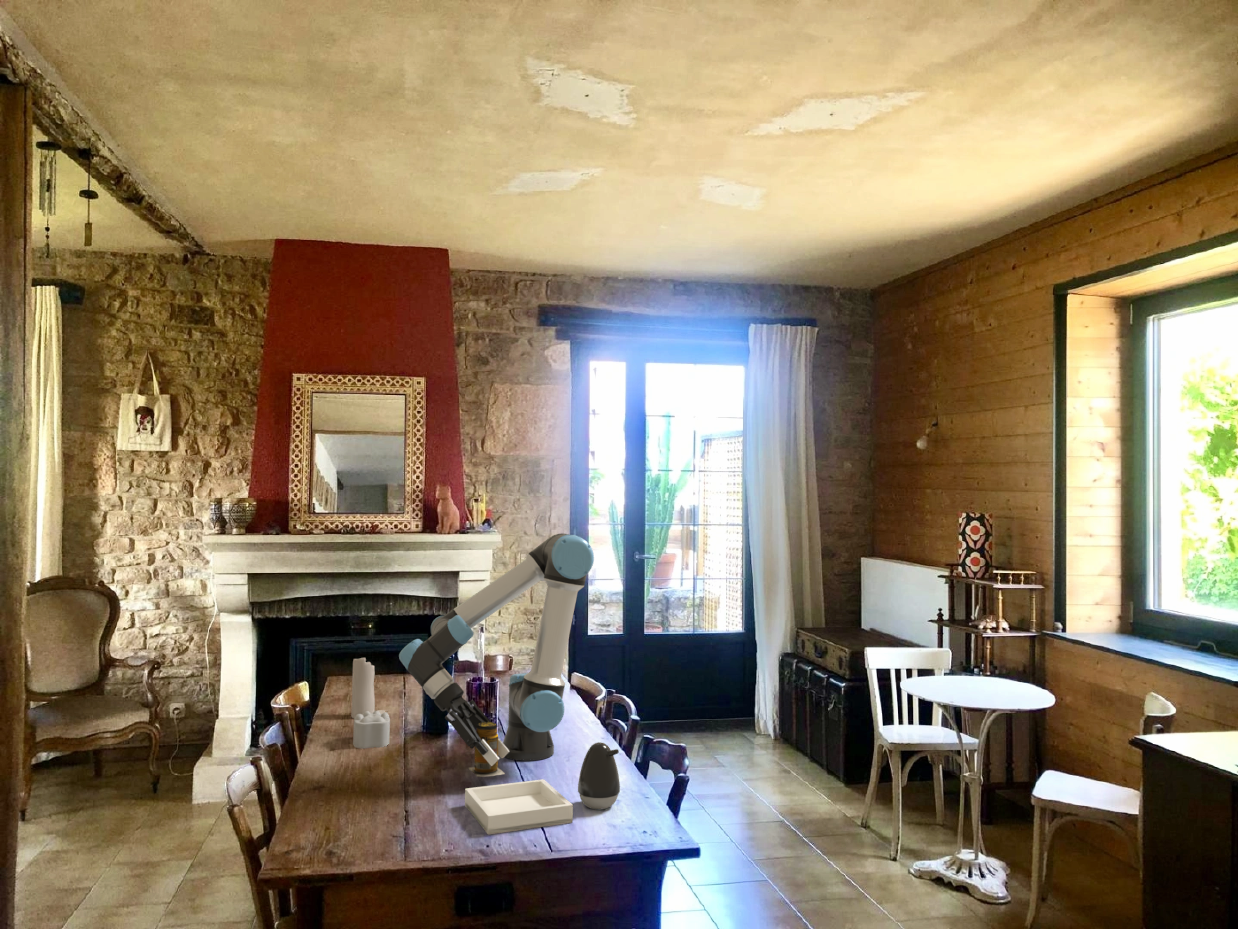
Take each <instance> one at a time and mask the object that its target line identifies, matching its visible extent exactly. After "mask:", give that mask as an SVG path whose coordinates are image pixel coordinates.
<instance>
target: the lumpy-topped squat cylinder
mask: <svg viewBox="0 0 1238 929" xmlns="http://www.w3.org/2000/svg"><path fill="white" fill-rule="evenodd" d="M390 725H391V717H390V715H389V713H388V712H385V713H382V714H380V712H379V711H377V710H375V711H374V712H373V713H370V712H369V711H366V712H364V713H363V714H357V715H356V717H355V718H353V734H352V736H353V738H352V739H353V741H352V745H353V746H354V747H355V748H356V749H372V748H373V749H374V747H376V748H384V746H385V747H387V745H388V744H389V745H390V735H391V734H390V728H391V726H390ZM389 745H388V746H389Z"/></svg>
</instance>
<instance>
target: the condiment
mask: <svg viewBox="0 0 1238 929" xmlns="http://www.w3.org/2000/svg"><path fill="white" fill-rule="evenodd" d="M476 732H477V734H478V735H479V737H480V739H481V740H482V739H484V740H485V742H486V743H487V744H488V745H489V746H490V748H491V749H492V750H493V751H494V752H495V754H496V755H497V756H498V757H499V755H498V743H499V742H498V738H499V735H498V724H497V723H496V722H492V721H491V722H482V723H479V724H478V725H477V729H476ZM498 765H499V760H498V761H497V762H496V763H495V764H494V765H493V766H491V765H490V764H489V763H488V762H487V760H486V759H485V758H484V757H483V755H482V754H481V753H480V752H479V751H478V749H477V748H476V747H474V767H468V769H469V770H470V771H471V772H472V773H473V774H474V775H475V776H476V777H478V778H480V777H482V778H483V777H494V776H495V777H496V776H501V775H505V772H504V771H503V770H502V769H500V768H499V766H498Z"/></svg>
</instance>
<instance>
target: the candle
mask: <svg viewBox="0 0 1238 929" xmlns="http://www.w3.org/2000/svg"><path fill="white" fill-rule="evenodd" d="M366 661H367V659H366V657H361V658H353V661H352V680H351V681H352V682H351V712H350V715H351V716H350V717H351V718H352V719H354V718H355V717H356V715H357V714H363V713H364V712H366V711H369V712H370V713H373V712H374V711H379V712H380V714H382V713H385V711H386V710H385V709H379V710H378V709H377V710H376V706H375V705H376V700H375V698H376V697H375V687H374V685H375V684H374V683H375V682H374V681H375V675H376V674H375V665H373V664H372V663H371V662H370V661H367V662H366Z"/></svg>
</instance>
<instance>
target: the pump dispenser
mask: <svg viewBox="0 0 1238 929" xmlns="http://www.w3.org/2000/svg"><path fill="white" fill-rule="evenodd" d="M619 751H620V750H619V749H617V748H616V749H611V748H610V747H609V745H607V744H606V743H605V742H594V743H593V744H591V746H590V747H589V748H588V750H587V751H586V754H585V756H584V759H583V761H582V764H581V769H580V771H579V777H578V784H577V785H578V786H577V792H578V795H579V797H580V800H581V802H582V804H584V806H586V807H587V808H589V809H592V810H597V809H601V810H606V809H608V808H610V807H612V806H613V805H614V804H615V802H616V801H617V799H618V797H619V794H620V791H621V784H620V775H619V770H618V765H617V762H616V759H615V755H618V754H619Z"/></svg>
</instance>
